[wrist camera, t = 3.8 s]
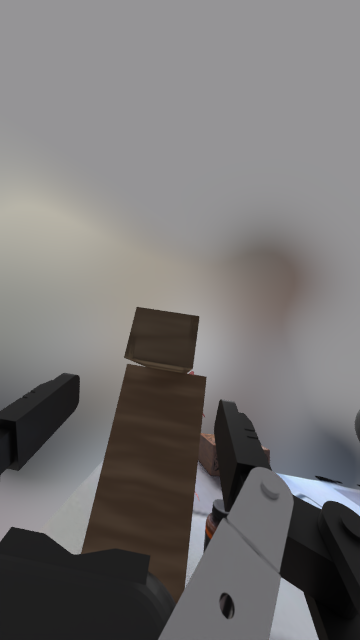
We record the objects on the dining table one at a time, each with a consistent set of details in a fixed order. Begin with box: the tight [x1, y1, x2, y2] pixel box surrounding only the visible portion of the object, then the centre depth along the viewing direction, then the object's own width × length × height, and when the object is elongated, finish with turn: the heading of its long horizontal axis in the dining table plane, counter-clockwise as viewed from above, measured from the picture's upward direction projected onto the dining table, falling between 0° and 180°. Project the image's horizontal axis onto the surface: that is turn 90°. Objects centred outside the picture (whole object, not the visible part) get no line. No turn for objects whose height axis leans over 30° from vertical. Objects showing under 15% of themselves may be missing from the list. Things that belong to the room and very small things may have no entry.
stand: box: [81, 364, 206, 604], centre depth 24 cm, size 14×10×32 cm
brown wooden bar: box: [124, 307, 199, 374], centre depth 26 cm, size 26×5×4 cm, turn 1°
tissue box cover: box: [198, 433, 270, 476], centre depth 77 cm, size 26×14×10 cm, turn 106°
